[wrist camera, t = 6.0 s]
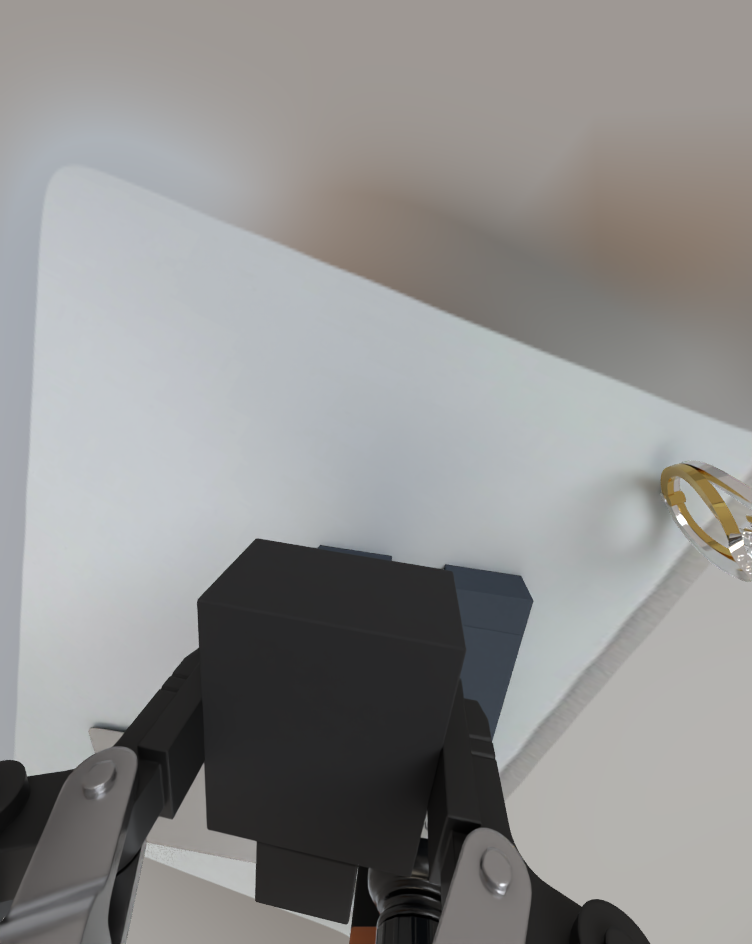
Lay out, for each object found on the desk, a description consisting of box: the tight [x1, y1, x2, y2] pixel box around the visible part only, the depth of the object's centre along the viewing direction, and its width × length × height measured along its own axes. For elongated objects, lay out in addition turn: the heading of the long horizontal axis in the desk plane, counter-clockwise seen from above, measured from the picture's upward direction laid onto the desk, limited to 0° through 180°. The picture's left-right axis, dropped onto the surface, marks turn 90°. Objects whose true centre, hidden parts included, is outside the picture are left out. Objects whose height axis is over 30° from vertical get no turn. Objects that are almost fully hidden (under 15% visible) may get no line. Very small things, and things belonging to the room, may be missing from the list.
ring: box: [660, 461, 752, 582], centre depth 20 cm, size 7×3×8 cm, turn 26°
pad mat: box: [318, 545, 533, 740], centre depth 29 cm, size 20×16×3 cm
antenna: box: [89, 728, 257, 863], centre depth 39 cm, size 25×24×1 cm
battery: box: [349, 865, 380, 944], centre depth 35 cm, size 4×7×10 cm, turn 17°
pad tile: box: [197, 539, 466, 924], centre depth 11 cm, size 11×6×3 cm, turn 174°
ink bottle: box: [368, 813, 442, 944], centre depth 30 cm, size 10×9×12 cm
